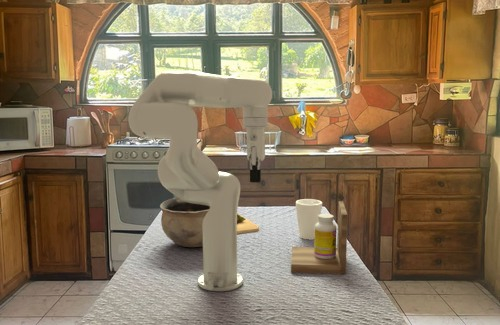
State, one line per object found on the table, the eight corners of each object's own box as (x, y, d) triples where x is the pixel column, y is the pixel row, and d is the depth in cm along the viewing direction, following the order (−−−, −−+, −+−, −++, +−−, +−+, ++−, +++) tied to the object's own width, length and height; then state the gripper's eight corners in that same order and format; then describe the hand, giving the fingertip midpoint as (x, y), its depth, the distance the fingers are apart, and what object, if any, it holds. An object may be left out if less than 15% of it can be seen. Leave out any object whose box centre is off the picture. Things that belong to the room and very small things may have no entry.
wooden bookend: (345, 274, 148) (347, 214, 145) (290, 272, 150) (291, 213, 147) (341, 255, 164) (343, 201, 161) (292, 254, 166) (292, 200, 163)
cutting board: (176, 216, 214) (176, 199, 213) (228, 211, 224) (228, 194, 222) (202, 240, 183) (202, 219, 181) (261, 232, 192) (261, 213, 191)
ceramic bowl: (235, 248, 171) (235, 205, 169) (174, 259, 161) (173, 213, 159) (208, 231, 191) (208, 192, 188) (153, 240, 180) (151, 199, 178)
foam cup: (291, 238, 182) (291, 203, 180) (301, 231, 190) (301, 198, 188) (316, 242, 178) (316, 206, 175) (325, 235, 186) (325, 200, 184)
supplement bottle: (334, 260, 152) (335, 219, 150) (312, 258, 154) (313, 217, 152) (336, 253, 159) (337, 213, 157) (315, 251, 160) (316, 212, 158)
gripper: (265, 125, 146) (265, 187, 149) (269, 120, 161) (269, 177, 164) (239, 124, 147) (240, 186, 150) (245, 120, 162) (245, 177, 165)
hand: (255, 181), depth 157 cm, fingers closed
